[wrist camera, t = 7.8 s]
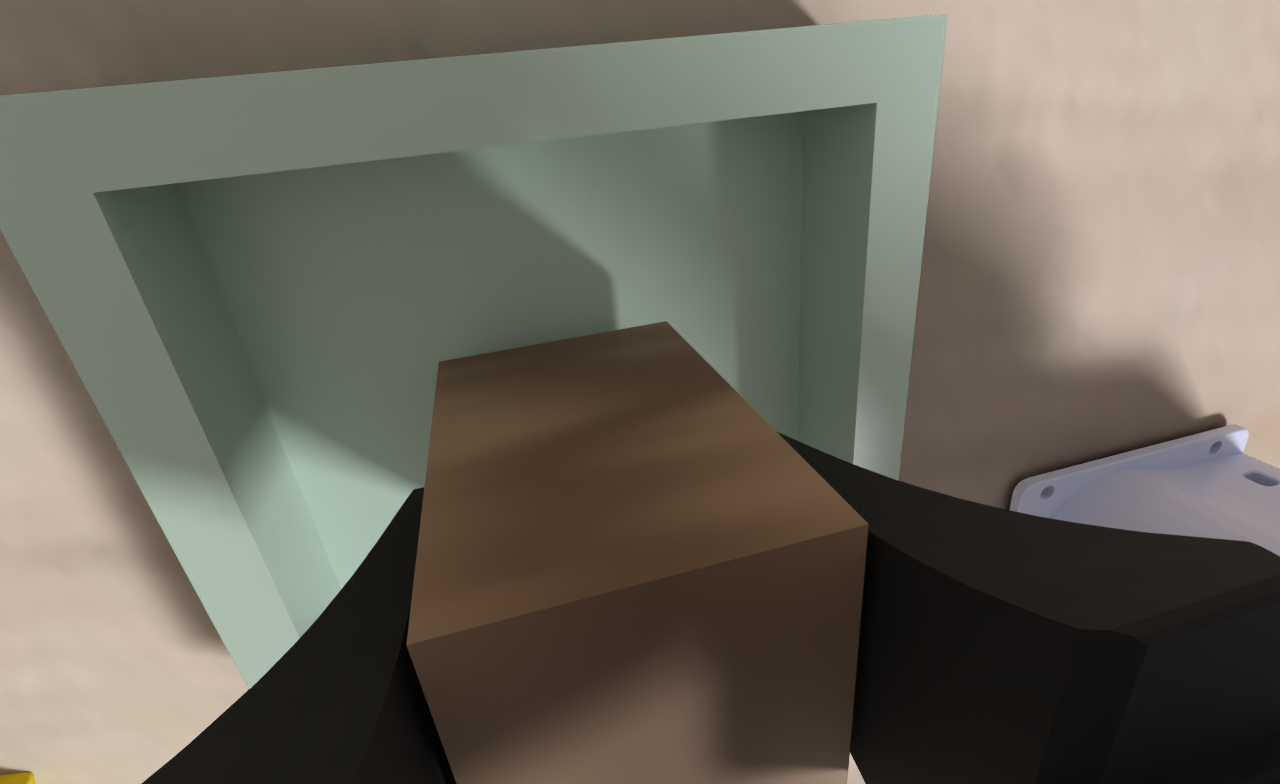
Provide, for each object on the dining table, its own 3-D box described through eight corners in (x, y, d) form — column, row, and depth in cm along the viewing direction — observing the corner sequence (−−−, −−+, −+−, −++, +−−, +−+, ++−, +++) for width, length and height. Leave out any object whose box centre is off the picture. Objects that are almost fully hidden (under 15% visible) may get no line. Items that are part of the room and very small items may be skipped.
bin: (832, 39, 13) (947, 13, 10) (814, 552, 19) (882, 636, 16) (90, 107, 10) (-69, 101, 7) (342, 678, 16) (313, 809, 13)
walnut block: (666, 320, 12) (868, 523, 6) (680, 503, 14) (845, 796, 8) (438, 361, 11) (406, 645, 5) (487, 549, 13) (505, 917, 7)
